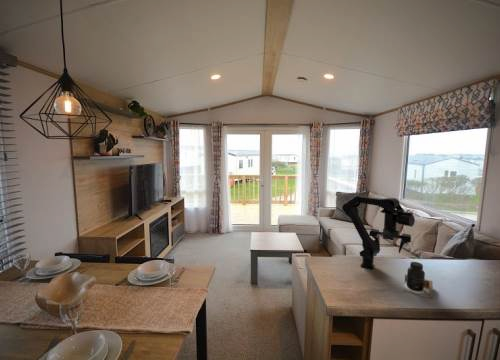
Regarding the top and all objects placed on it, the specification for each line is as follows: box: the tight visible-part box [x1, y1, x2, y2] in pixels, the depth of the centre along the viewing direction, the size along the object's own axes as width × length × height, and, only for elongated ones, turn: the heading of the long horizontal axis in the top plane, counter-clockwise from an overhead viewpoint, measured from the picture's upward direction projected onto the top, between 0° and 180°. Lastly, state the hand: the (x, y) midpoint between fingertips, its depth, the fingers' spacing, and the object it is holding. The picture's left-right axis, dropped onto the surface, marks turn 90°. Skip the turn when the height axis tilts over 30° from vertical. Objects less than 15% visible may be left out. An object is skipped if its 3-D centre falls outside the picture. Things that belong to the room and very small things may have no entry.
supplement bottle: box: [406, 261, 426, 291], centre depth 114 cm, size 7×7×12 cm
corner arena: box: [402, 273, 434, 300], centre depth 115 cm, size 11×11×4 cm
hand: (388, 251), depth 128 cm, fingers open, 9 cm apart
